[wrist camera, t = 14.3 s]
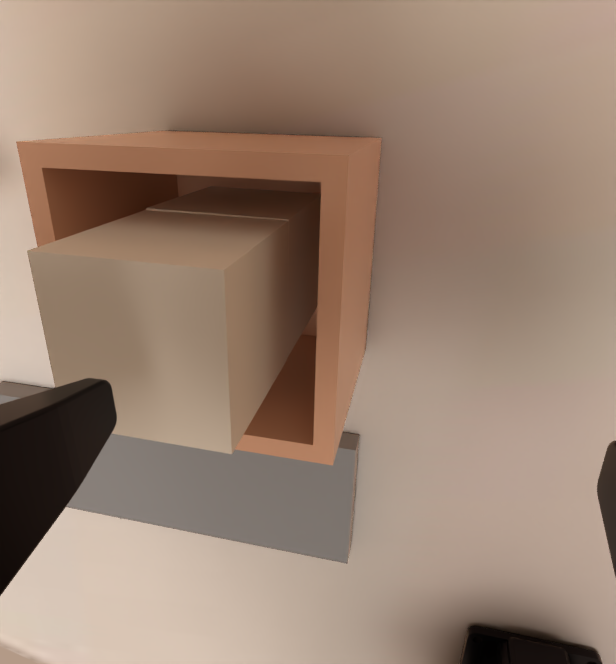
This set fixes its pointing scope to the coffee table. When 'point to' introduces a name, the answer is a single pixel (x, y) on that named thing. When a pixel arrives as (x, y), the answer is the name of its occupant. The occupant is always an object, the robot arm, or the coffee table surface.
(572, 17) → the coffee table surface
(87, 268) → the block
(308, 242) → the block
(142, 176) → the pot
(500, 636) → the robot arm
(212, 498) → the slate board
